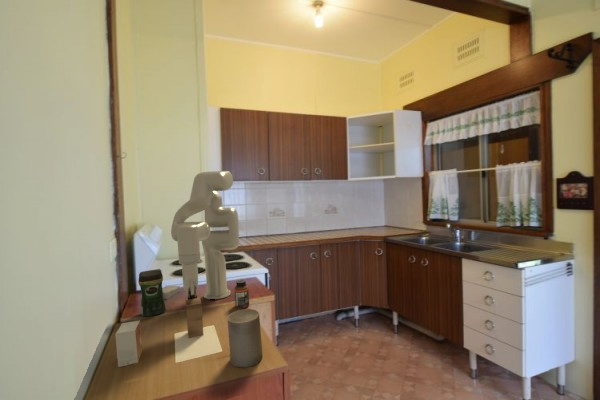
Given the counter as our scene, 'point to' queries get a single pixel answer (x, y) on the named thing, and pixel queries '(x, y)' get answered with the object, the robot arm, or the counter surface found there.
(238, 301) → the supplement bottle
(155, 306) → the coffee jar
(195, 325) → the walnut block
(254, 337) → the pillar candle
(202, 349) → the cream mat
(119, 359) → the small box
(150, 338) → the counter surface
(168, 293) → the stone block
